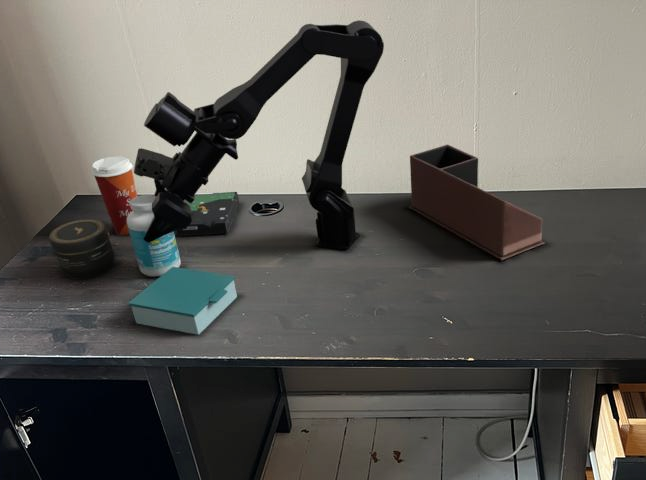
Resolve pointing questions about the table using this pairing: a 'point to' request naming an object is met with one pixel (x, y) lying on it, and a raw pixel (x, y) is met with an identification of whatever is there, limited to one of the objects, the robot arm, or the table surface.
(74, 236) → the jar
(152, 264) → the pill bottle
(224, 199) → the disk drive
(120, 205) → the paper cup
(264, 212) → the table surface
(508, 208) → the desk organizer
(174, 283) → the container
